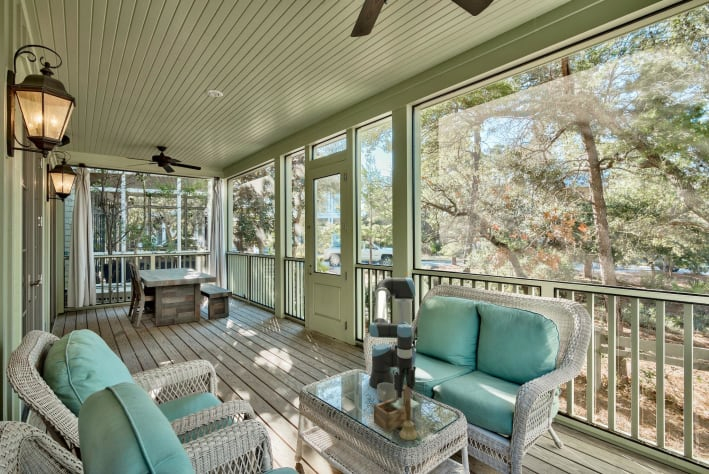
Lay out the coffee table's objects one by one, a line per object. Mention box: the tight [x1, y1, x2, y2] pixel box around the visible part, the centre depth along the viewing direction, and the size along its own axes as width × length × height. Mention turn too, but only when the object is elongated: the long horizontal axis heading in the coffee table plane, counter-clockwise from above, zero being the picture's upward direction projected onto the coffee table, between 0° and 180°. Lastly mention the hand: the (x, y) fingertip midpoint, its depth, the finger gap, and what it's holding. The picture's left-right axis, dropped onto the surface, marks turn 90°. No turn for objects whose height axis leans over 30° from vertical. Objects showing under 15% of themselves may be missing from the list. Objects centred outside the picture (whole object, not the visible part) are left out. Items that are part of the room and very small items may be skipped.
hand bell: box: [398, 400, 418, 441], centre depth 156 cm, size 8×8×16 cm
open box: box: [373, 397, 412, 432], centre depth 167 cm, size 14×11×8 cm
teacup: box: [376, 382, 398, 403], centre depth 186 cm, size 14×11×8 cm
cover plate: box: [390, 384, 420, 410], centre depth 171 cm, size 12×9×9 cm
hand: (404, 402), depth 171 cm, fingers closed on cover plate, 4 cm apart
